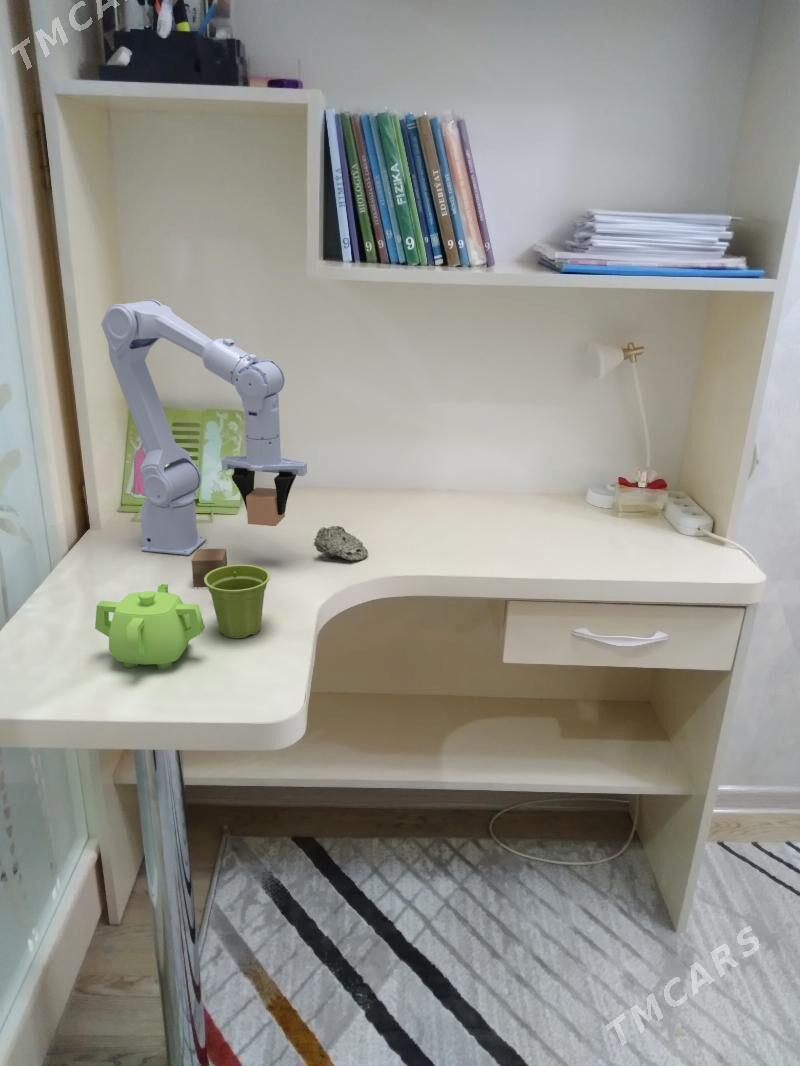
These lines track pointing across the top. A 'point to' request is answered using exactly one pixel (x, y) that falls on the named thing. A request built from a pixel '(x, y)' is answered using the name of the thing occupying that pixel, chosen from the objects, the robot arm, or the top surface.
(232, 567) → the plant pot
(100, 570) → the top surface
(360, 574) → the top surface
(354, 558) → the rock sample
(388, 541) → the top surface
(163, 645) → the green handled lidded container
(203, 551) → the walnut block
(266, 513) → the terracotta block
